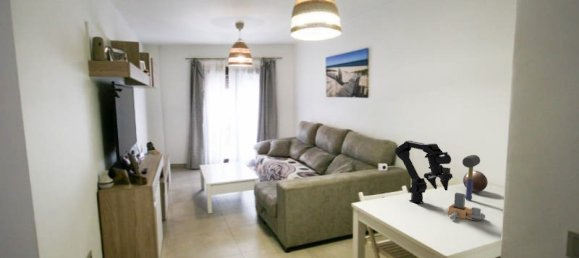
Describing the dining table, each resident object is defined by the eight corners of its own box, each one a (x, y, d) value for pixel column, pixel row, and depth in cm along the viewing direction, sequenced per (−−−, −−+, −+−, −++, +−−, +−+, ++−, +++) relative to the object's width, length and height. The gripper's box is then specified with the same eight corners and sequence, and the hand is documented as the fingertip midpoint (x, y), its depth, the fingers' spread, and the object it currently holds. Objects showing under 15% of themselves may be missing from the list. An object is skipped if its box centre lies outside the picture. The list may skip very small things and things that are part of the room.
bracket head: (443, 218, 172) (443, 208, 171) (452, 210, 183) (453, 201, 183) (478, 228, 160) (479, 217, 159) (486, 219, 171) (487, 208, 170)
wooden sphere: (457, 190, 223) (459, 170, 221) (470, 187, 230) (471, 167, 228) (478, 196, 210) (480, 174, 208) (491, 192, 217) (492, 172, 215)
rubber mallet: (471, 203, 195) (474, 157, 192) (458, 200, 201) (461, 155, 197) (478, 199, 203) (481, 155, 200) (466, 196, 209) (469, 153, 205)
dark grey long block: (453, 214, 177) (454, 193, 176) (455, 213, 180) (456, 192, 178) (462, 216, 174) (463, 195, 173) (463, 215, 177) (465, 194, 175)
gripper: (457, 161, 177) (463, 187, 176) (435, 161, 195) (441, 185, 194) (440, 165, 175) (447, 192, 174) (420, 165, 193) (426, 189, 192)
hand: (441, 189), depth 184 cm, fingers open, 9 cm apart
